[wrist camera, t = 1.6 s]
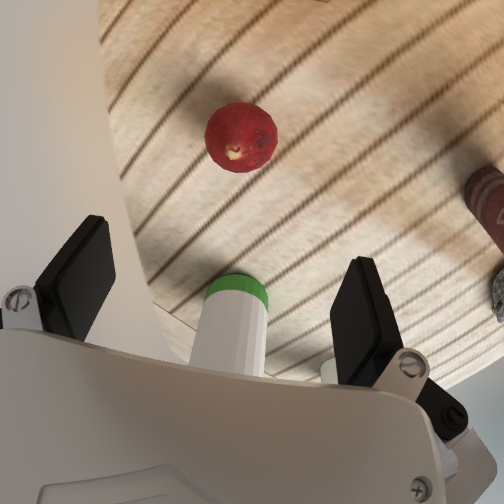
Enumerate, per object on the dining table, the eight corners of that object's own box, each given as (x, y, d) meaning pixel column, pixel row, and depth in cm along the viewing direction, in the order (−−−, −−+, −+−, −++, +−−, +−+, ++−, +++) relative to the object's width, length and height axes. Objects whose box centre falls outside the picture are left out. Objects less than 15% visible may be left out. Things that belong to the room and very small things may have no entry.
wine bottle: (217, 315, 43) (175, 538, 20) (200, 273, 39) (134, 531, 15) (273, 311, 42) (256, 549, 18) (262, 266, 37) (234, 551, 14)
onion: (276, 94, 26) (274, 112, 19) (279, 153, 29) (278, 190, 23) (211, 98, 26) (187, 119, 20) (218, 156, 30) (199, 193, 23)
